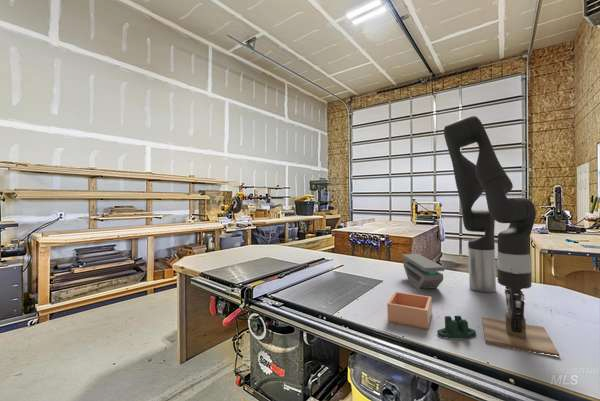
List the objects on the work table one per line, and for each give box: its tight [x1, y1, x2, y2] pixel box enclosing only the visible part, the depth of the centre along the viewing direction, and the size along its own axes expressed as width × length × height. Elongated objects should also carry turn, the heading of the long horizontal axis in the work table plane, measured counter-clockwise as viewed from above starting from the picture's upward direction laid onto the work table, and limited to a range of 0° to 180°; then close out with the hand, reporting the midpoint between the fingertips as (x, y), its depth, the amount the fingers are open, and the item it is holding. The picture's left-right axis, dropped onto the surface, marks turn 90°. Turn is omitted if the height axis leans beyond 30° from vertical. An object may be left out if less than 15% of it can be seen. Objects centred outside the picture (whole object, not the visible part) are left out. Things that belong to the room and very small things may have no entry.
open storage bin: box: [386, 291, 433, 330], centre depth 90 cm, size 12×12×6 cm
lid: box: [481, 311, 560, 357], centre depth 76 cm, size 15×15×6 cm
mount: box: [436, 315, 477, 339], centre depth 79 cm, size 11×4×5 cm, turn 91°
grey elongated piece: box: [401, 253, 445, 289], centre depth 122 cm, size 25×8×11 cm, turn 179°
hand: (515, 327), depth 76 cm, fingers closed on lid, 4 cm apart
